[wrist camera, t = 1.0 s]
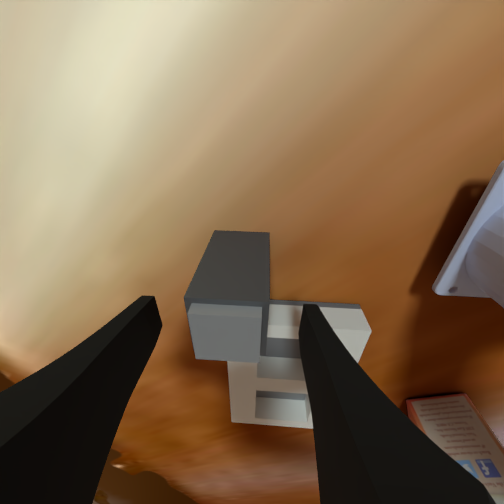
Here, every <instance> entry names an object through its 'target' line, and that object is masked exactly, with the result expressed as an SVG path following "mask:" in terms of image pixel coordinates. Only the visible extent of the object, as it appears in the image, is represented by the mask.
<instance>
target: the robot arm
mask: <svg viewBox="0 0 504 504" xmlns="http://www.w3.org/2000/svg"><path fill="white" fill-rule="evenodd" d="M451 287H452V288H451ZM432 290H433V291H434V292H435V293H436V294H437V295H447V296H466V297H486V298H492V299H493V300H495V301H496V302H497V303H498V304H499V305H501V306H502V307H503V308H504V161H502V162H501V163H500V165H499V166H498V168H497V169H496V171H495V173H494V175H493V177H492V178H491V180H490V182H489V184H488V186H487V188H486V189H485V191H484V193H483V195H482V197H481V198H480V200H479V202H478V204H477V206H476V207H475V209H474V211H473V213H472V215H471V217H470V218H469V220H468V222H467V224H466V226H465V227H464V229H463V231H462V233H461V235H460V236H459V238H458V240H457V242H456V244H455V246H454V247H453V249H452V251H451V253H450V255H449V256H448V258H447V260H446V262H445V264H444V265H443V267H442V269H441V271H440V273H439V275H438V276H437V278H436V280H435V282H434V284H433V285H432ZM161 328H162V322H161V318H160V315H159V311H158V307H157V304H156V300H155V297H154V296H141V297H140V298H138V299H137V300H136V301H135V302H133V303H132V304H131V305H130V306H128V307H127V308H126V309H125V310H123V311H122V312H121V313H120V314H118V315H117V316H116V317H115V318H113V319H112V320H111V321H110V322H108V323H107V324H106V325H104V326H103V327H102V328H101V329H99V330H98V331H97V332H95V333H94V334H92V335H91V336H90V337H88V338H87V339H86V340H84V341H83V342H82V343H80V344H79V345H77V346H76V347H75V348H73V349H72V350H70V351H69V352H67V353H66V354H64V355H63V356H61V357H60V358H58V359H56V360H55V361H53V362H52V363H50V364H49V365H47V366H45V367H44V368H42V369H40V370H39V371H37V372H35V373H34V374H32V375H30V376H28V377H27V378H25V379H23V380H22V381H20V382H18V383H16V384H15V385H13V386H11V387H9V388H8V389H6V390H4V391H2V392H0V504H92V503H93V499H94V496H95V493H96V490H97V486H98V483H99V480H100V477H101V474H102V471H103V468H104V465H105V463H106V460H107V456H108V454H109V451H110V448H111V445H112V443H113V440H114V437H115V434H116V432H117V429H118V426H119V424H120V421H121V419H122V416H123V413H124V411H125V408H126V406H127V403H128V401H129V399H130V397H131V394H132V392H133V390H134V388H135V386H136V384H137V382H138V380H139V378H140V376H141V374H142V372H143V370H144V368H145V366H146V364H147V362H148V360H149V358H150V356H151V354H152V352H153V350H154V347H155V345H156V343H157V340H158V337H159V334H160V331H161ZM298 335H299V347H300V356H301V361H302V366H303V371H304V377H305V382H306V387H307V392H308V397H309V402H310V408H311V414H312V422H313V431H314V440H315V450H316V460H317V470H318V481H319V493H320V504H496V503H495V501H494V499H493V498H492V496H491V495H490V493H489V492H488V490H487V489H486V487H485V486H484V484H482V483H481V482H480V481H479V480H478V479H477V478H475V477H474V476H473V475H472V474H471V473H469V472H468V471H467V470H466V469H465V468H463V467H462V466H461V465H460V464H459V463H458V462H456V461H455V460H454V459H453V458H452V457H450V456H449V455H448V454H447V453H446V452H444V451H443V450H442V449H441V448H440V447H439V446H438V445H437V444H435V443H434V442H433V441H432V440H431V439H430V438H429V437H428V436H427V435H426V434H424V433H423V432H422V431H421V430H420V429H419V428H418V427H417V426H416V425H415V424H414V423H413V422H412V421H411V420H410V419H409V418H408V417H407V416H406V415H405V414H404V413H403V412H402V411H401V410H400V409H399V408H398V407H397V406H396V405H395V404H394V403H393V402H392V401H391V400H390V399H389V398H388V397H387V396H386V395H385V394H384V393H383V392H382V391H381V390H380V389H379V388H378V386H377V385H376V384H375V383H374V382H373V381H372V380H371V379H370V377H369V376H368V375H367V374H366V373H365V372H364V370H363V369H362V368H361V367H360V366H359V364H358V363H357V362H356V360H355V359H354V358H353V357H352V355H351V354H350V353H349V351H348V350H347V349H346V347H345V346H344V345H343V343H342V342H341V340H340V339H339V338H338V336H337V335H336V333H335V332H334V330H333V329H332V327H331V326H330V324H329V323H328V321H327V320H326V318H325V316H324V315H323V313H322V311H321V310H320V308H319V306H318V305H317V304H303V310H302V315H301V321H300V326H299V332H298Z"/></svg>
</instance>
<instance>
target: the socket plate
mask: <svg viewBox="0 0 504 504" xmlns="http://www.w3.org/2000/svg"><path fill="white" fill-rule="evenodd" d="M303 304H317V305H318V306H319V308H320V310H321V311H322V313H323V315H324V316H325V318H326V320H327V321H328V323H329V324H330V326H331V327H332V329H333V330H334V332H335V333H336V335H337V336H338V338H339V339H340V340H341V342H342V343H343V345H344V346H345V347H346V349H347V350H348V351H349V353H350V354H351V355H352V357H353V358H354V359H355V360H356V362H357V363H358V362H359V359H360V357H361V355H362V352H363V350H364V348H365V345H366V343H367V341H368V338H369V336H370V334H371V329H370V326H369V324H368V322H367V320H366V318H365V316H364V314H363V312H362V310H361V307H360V305H359V304H342V303H323V302H305V301H286V300H270V305H269V319H268V332H267V345H266V356H261V355H260V362H259V363H250V362H235V361H227V364H228V378H229V392H230V407H231V421H232V422H236V423H249V424H261V425H274V426H286V427H299V428H312V429H313V422H312V414H311V408H310V402H309V397H308V392H307V387H306V382H305V377H304V371H303V366H302V361H301V356H300V347H299V335H298V332H299V326H300V321H301V315H302V310H303Z"/></svg>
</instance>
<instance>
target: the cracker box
mask: <svg viewBox="0 0 504 504" xmlns="http://www.w3.org/2000/svg"><path fill="white" fill-rule="evenodd" d="M406 404H407V411H408V417H409V419H410V420H411V421H412V422H413V423H414V424H415V425H416V426H417V427H418V428H419V429H420V430H421V431H422V432H423V433H424V434H426V435H427V436H428V437H429V438H430V439H431V440H432V441H433V442H434V443H435V444H437V445H438V446H439V447H440V448H441V449H442V450H443V451H444V452H446V453H447V454H448V455H449V456H450V457H452V458H453V459H454V460H455V461H456V462H458V463H459V464H460V465H461V466H462V467H463V468H465V469H466V470H467V471H468V472H469V473H471V474H472V475H473V476H474V477H475V478H477V479H478V480H479V481H480V482H481V483H482V484H484V486H485V487H486V489H487V490H488V492H489V493H490V495H491V496H492V498H493V499H494V501H495V503H496V504H504V447H503V446H502V444H501V443H500V441H499V440H498V438H497V437H496V436H495V434H494V433H493V431H492V430H491V428H490V427H489V426H488V424H487V423H486V421H485V420H484V418H483V417H482V415H481V414H480V412H479V411H478V410H477V408H476V407H475V405H474V404H473V402H472V401H471V400H470V398H469V397H468V395H467V394H466V393H460V394H452V395H443V396H434V397H425V398H416V399H408V400H406Z"/></svg>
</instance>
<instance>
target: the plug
mask: <svg viewBox="0 0 504 504" xmlns="http://www.w3.org/2000/svg"><path fill="white" fill-rule="evenodd" d="M184 301H185V307H186V312H187V317H188V322H189V328H190V333H191V338H192V343H193V349H194V351H195V357H196V359H205V360H220V361H235V362H250V363H259V362H260V355H261V356H266V345H267V332H268V319H269V305H270V259H269V233H266V232H242V231H218V230H215V231H214V233H213V235H212V237H211V239H210V242H209V244H208V246H207V248H206V250H205V252H204V255H203V257H202V259H201V261H200V263H199V265H198V268H197V270H196V272H195V274H194V276H193V278H192V281H191V283H190V285H189V287H188V289H187V291H186V294H185V296H184Z"/></svg>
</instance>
